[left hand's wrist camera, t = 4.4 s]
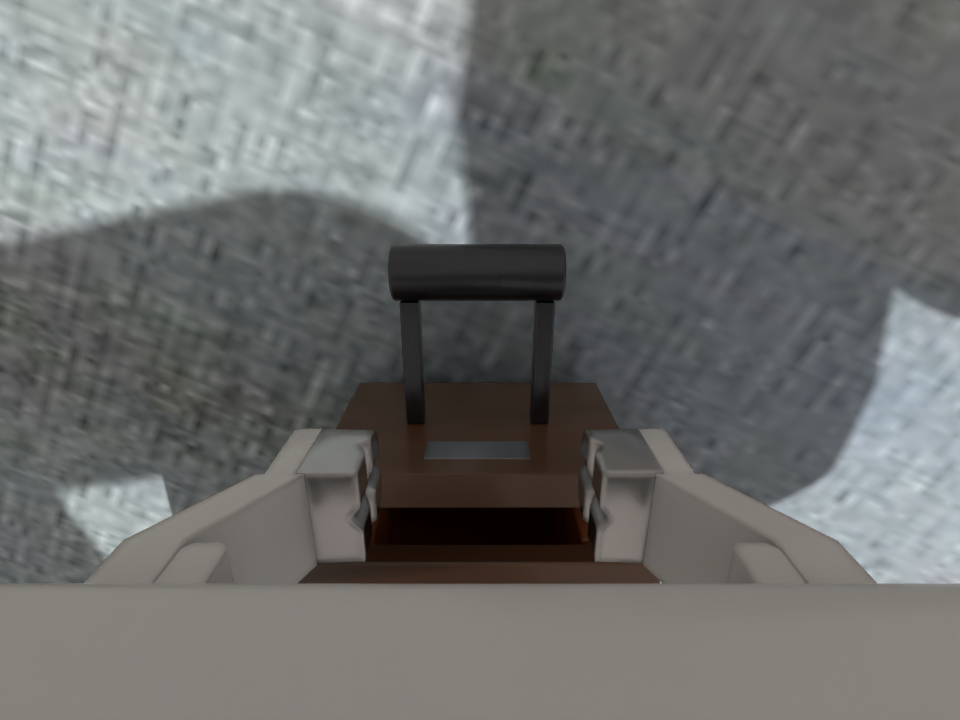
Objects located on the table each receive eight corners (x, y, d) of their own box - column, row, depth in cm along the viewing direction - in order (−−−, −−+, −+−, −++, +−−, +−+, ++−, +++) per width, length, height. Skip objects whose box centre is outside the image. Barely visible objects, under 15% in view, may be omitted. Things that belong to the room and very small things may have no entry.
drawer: (345, 230, 19) (281, 265, 13) (609, 230, 19) (671, 265, 13) (388, 688, 27) (362, 838, 21) (568, 688, 27) (593, 838, 21)
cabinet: (355, 424, 22) (290, 563, 15) (600, 424, 22) (663, 563, 15) (384, 716, 29) (350, 915, 22) (572, 716, 29) (605, 915, 22)
